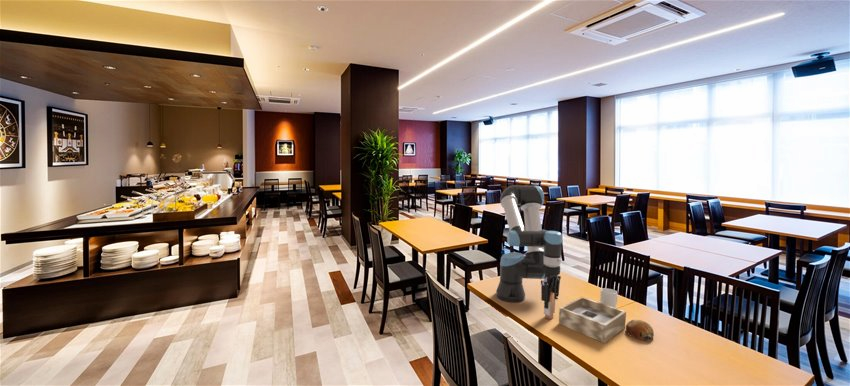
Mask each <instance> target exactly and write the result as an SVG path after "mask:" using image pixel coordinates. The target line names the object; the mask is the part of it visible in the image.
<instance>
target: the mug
mask: <svg viewBox="0 0 850 386" xmlns="http://www.w3.org/2000/svg"><path fill="white" fill-rule="evenodd" d="M599 303H602V304H605V305H608V306H611V307H614V308H617V303H618V291H617V290H615V289H612V288H605V287H604V288H603V287H602V288H601V289H600V301H599Z"/></svg>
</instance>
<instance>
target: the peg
mask: <svg viewBox="0 0 850 386" xmlns="http://www.w3.org/2000/svg"><path fill="white" fill-rule="evenodd" d="M550 302H551V305H550V316H548V315H546V314H544V318H545V319H547V320H553V319H554V313H553V312H554V292H551V295H550Z"/></svg>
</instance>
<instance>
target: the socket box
mask: <svg viewBox="0 0 850 386" xmlns="http://www.w3.org/2000/svg"><path fill="white" fill-rule="evenodd" d="M558 310H559V311H558V313H559V314H558V325H561V326H564V327H565V328H568V329H570V330H572V331H574V332H577V333H580V334H582V335H584V336H587V337H589V338H591V339H594V340H595V341H599V342H601V343H604V344H605V343H607V342H608V341H610V340H611V339H612V338H614V337H615V336H616V335H617V334H619V333H620V332H622V331H623V330H625V329H626V320H627V311H626V310H622V309H620V308H617V307H616V308H614V307H611V306H608V305H605V304H602V303H600V301H599V302H598V301H595V300H593V299H589V298H588V297H587V298H586V297H583V296H580V297H579V298H576V299H574V300H572V301H571V302H569V303H566V304H564V305H563V306H561V307H559V309H558Z"/></svg>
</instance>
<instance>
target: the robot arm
mask: <svg viewBox="0 0 850 386" xmlns="http://www.w3.org/2000/svg"><path fill="white" fill-rule="evenodd" d="M499 200H500V201H499V202H500V205H501V207H502V208H503V211H504V215H505V217H506V218H505V219H506V221H507V226H508V232H507V235H506V242H507V244H508V246H511V247H526V248H527V250H526V252H525V253H524V254H525V255H524V254H523V253H521V252H516V251H515V252H514V251H513V252H507V253H505V254H503V255H502V256H501V257H500V263H499V265H500V267H499V268H500V270H499V274H500V275H499V283H498V285H497V289H496V292H495V293H496V295H495V296H496V298H498V299H499V300H501V301H504V302H507V303H520V302H523V301H525V299H526V292H525V288H524V286H523V279H525V280H526V279H527V280H528V279H529V280H533V279H534V280H541V281H540V285H541V293H540V294H541V295H540V296H541V298H540V300H541V301H542V302H544V303H543V314H544V315H545V314H546V315H548V316H550V305H551V302H550V295H551V292H554V312H553V314H555V313H556V300H559V298H558V297H559V294H560V284H561V283H560V282H561V278H562V276H560V274H561V262H562V243H563V234H562V233H561V232H560V231H557V230H546V229H542V224H541V223H542V221H541V215H540V214H541V213H540V209H541V208H542V207H543V205H544V203H545V194H544V190H543V189H542V187H541V186H539V185H520V184H519V185H518V184H517V185H516V184H515V185H510V186H508V187H506V188H505V189H504V190H503V191H502V193H501V195H500V198H499ZM519 206H520V209H519ZM520 210H521V211H523V217H524V222H523V218H522V216H521V211H520Z"/></svg>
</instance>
